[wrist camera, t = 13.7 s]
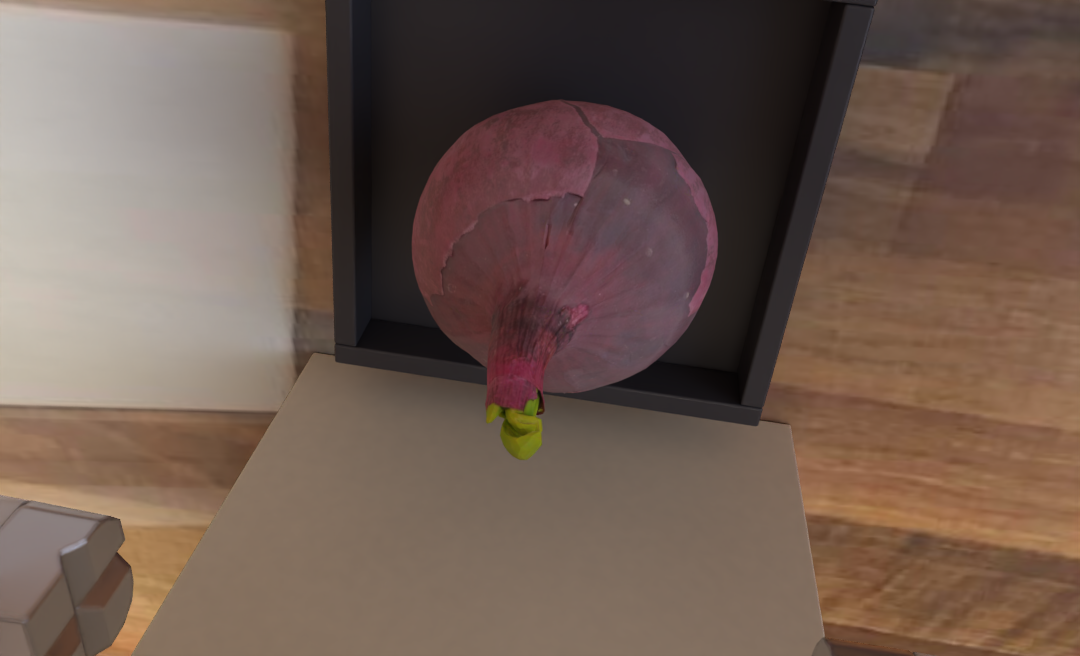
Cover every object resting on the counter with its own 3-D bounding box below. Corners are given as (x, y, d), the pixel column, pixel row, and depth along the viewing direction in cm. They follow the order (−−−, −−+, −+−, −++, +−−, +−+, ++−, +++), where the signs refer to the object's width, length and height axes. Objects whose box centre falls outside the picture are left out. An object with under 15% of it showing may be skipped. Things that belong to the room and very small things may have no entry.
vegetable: (407, 194, 24) (256, 444, 15) (551, -9, 21) (462, 163, 12) (599, 327, 25) (557, 624, 17) (761, 155, 22) (810, 412, 13)
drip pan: (354, -110, 21) (321, -95, 19) (865, -47, 20) (885, -25, 18) (359, 318, 27) (334, 363, 25) (752, 377, 26) (758, 428, 24)
